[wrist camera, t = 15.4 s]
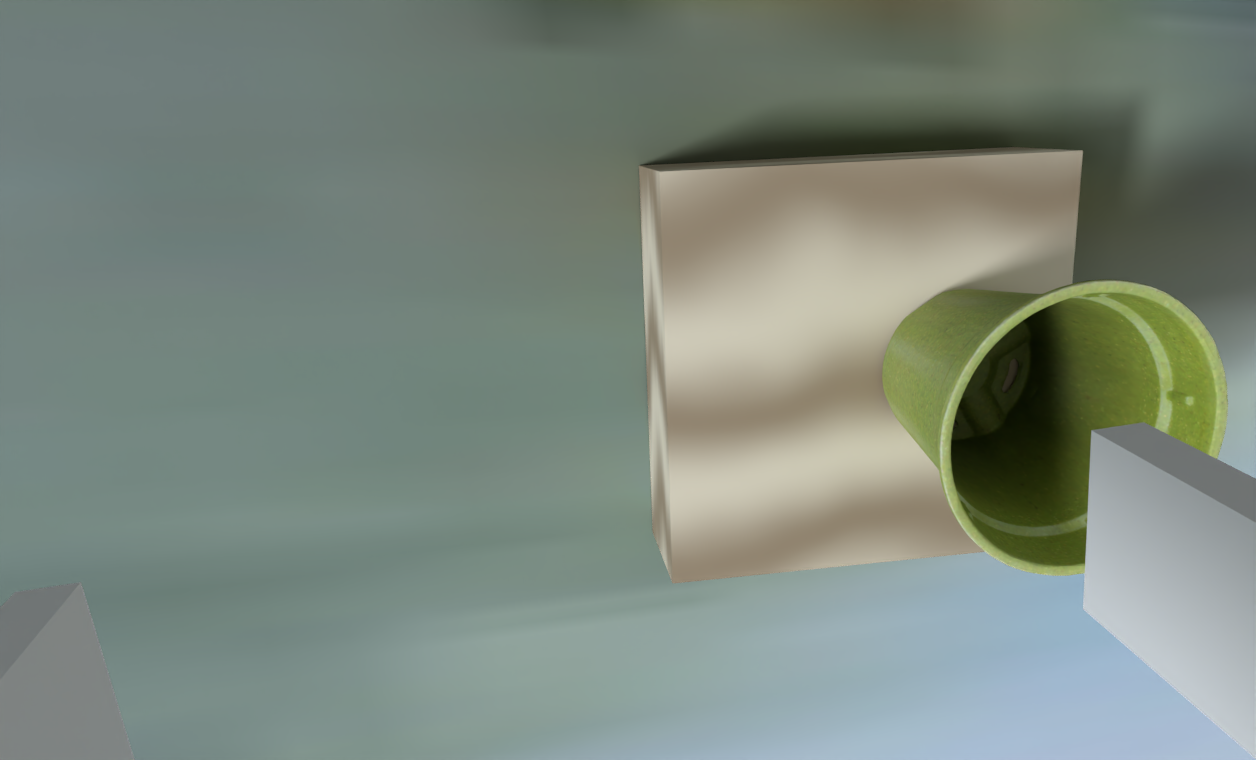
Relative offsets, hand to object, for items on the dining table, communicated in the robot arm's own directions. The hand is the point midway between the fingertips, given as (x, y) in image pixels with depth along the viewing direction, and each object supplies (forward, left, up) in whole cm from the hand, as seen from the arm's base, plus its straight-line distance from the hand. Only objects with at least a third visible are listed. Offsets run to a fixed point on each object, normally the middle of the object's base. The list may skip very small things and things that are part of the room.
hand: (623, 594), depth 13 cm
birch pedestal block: (+4, +13, -28) cm, 31 cm away
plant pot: (+4, +16, -23) cm, 28 cm away
